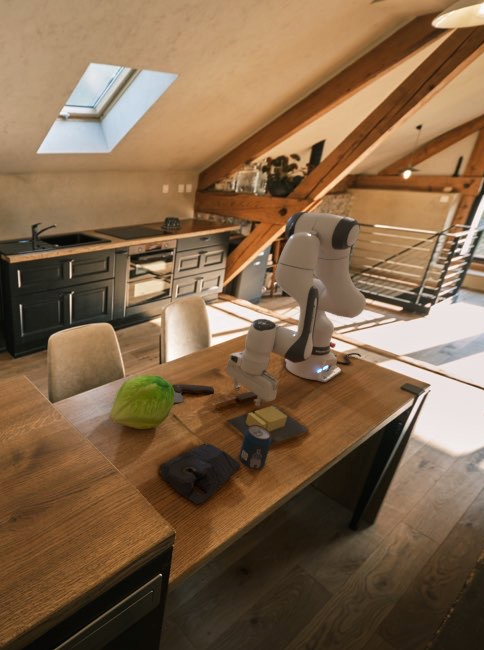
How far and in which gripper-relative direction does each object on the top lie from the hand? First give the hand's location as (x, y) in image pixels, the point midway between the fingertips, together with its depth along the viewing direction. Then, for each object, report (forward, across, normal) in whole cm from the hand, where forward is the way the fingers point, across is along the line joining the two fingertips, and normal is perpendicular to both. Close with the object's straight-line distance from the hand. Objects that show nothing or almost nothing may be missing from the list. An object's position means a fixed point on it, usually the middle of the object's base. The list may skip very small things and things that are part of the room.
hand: (245, 397), depth 139 cm
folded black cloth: (+3, -20, +37) cm, 42 cm away
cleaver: (+3, +13, +21) cm, 25 cm away
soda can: (+3, -23, +21) cm, 31 cm away
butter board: (+2, -14, +4) cm, 14 cm away
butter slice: (+1, -13, +9) cm, 16 cm away
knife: (+2, 0, +4) cm, 5 cm away
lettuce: (+3, +5, +42) cm, 43 cm away
